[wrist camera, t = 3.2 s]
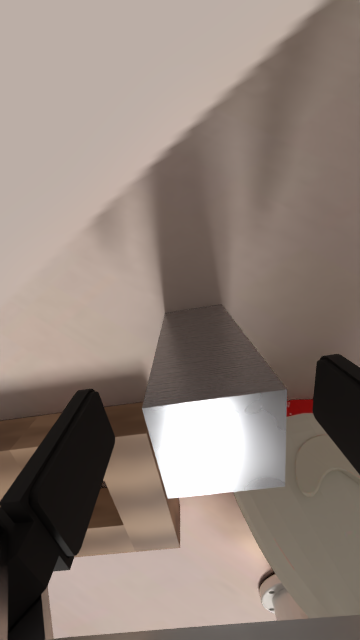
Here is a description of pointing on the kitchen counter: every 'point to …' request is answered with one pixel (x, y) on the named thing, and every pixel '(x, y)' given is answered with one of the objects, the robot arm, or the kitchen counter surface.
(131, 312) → the kitchen counter surface
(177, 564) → the kitchen counter surface
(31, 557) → the robot arm
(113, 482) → the socket block
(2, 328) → the kitchen counter surface
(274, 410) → the square peg
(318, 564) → the kitchen timer
